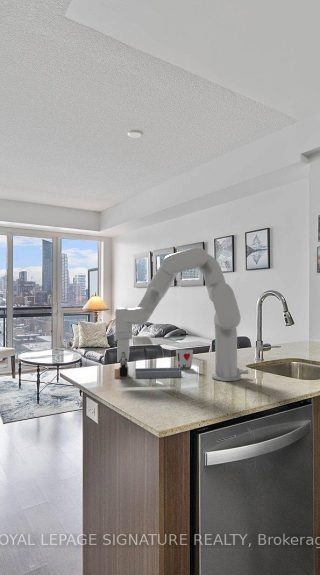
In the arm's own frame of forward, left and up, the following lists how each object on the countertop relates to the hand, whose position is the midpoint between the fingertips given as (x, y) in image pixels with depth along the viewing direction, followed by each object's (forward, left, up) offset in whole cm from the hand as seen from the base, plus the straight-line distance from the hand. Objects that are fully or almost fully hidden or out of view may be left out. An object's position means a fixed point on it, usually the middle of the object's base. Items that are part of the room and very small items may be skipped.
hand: (123, 374), depth 166 cm
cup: (-29, -14, -2) cm, 32 cm away
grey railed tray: (-15, 0, -2) cm, 15 cm away
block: (-2, 0, 0) cm, 2 cm away
